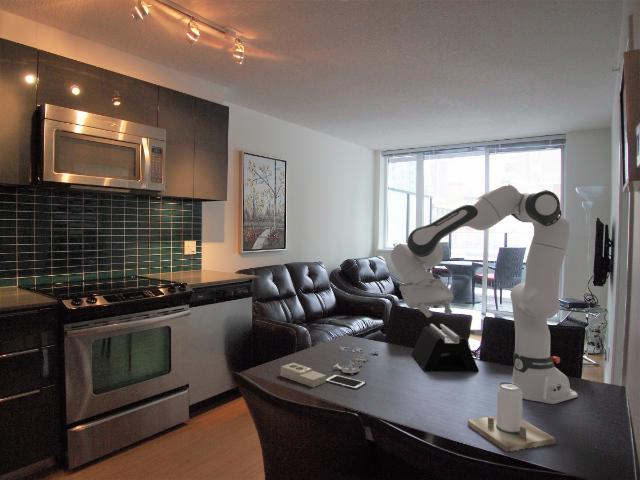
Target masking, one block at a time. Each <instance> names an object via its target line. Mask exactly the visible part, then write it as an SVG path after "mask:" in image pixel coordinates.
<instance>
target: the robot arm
mask: <svg viewBox="0 0 640 480" xmlns="http://www.w3.org/2000/svg"><path fill="white" fill-rule="evenodd" d="M562 214H563V213H562V210H561V202H560V199H559V197H558V195H556V194H555V193H554V192H552V191H550V190H548V189H537V190H530V191H526V192H523V193H521V192H520V191H519V190H518V189H517V188H516V187H515V186H514V185H512V184H509V183H503V184H499V185H498V186H496V187H494V188H492V189H490V190H488V191H486V192H485V193H484V194H482V195H481V196H478V198H476V199H475V200H473V201H471V202H470V203H468V204H465V205H462V206H459V207H457V208H456V209H453V210H452V211H450V212H449V213H446V214H445V215H444V216H442V217H440V218H438V219H436V220H434V221H433V222H431V223H429V224H426V225H423V226H422V225H421V226H419V227H416V228H415V229H414V230H413V231H411V233H409V235H408V237H407V240H406V241H407V242H401V243H398V244H397V245H395V247H393V248H392V251H391V252H390V260H391V261H392V264H393V266H394V268H395V269H396V271H397V273H398V274H399V275H400V276H401V277H402V280H403V282H402V283H400V284H399V291H400V292H401V296H402V298H403V300H404V303H405V304H406V306H407V307H408V308H409V309H415V308H417V309H418V311H420V312H422V313H423V314H424V315H425V317H426V318H431V317H432V316H433V315H434V314H433V312H432V310H431V309H428V308H427V307H435V306H442V308H443V307H444V310H443V313H444V314H445V315H446V316H447V315H451V314H452V313H453V310H452V309H451V306H450V303H451V302H452V301H453V300H454V293H452V290H451V289H450V288H449V287H448V285H447V284H446V283H445V282H444V281H443V277H442V276H441V275H439V274H435V273H433V272H431V271H427V270H430V269H431V268H434V267H436V266H438V265H439V264H441V262H442V261H443V260H444V256H445V253H444V250H443V247H442V245H441V243H440V242H441V240H443V238H446V237H447V236H449V235H450V234H452V233H453V232H455V231H456V230H458V229H460V228H464V227H469V228H471V229H473V230H477V231H486V230H488V229H490V228H492V227H494V226H495V225H497V224H498V223H500V222H501V221H502V220H504V219H505V218H506V217H508V216H510V215H511V216H512V217H514V218H515V219H516V220H517V221H520V222H522V223H530V224H532V225H533V237H532V239H531V242H530V246H529V250H528V253H527V256H526V261H525V281H524V282H520V283H517V284H516V285H514V286H513V287H512V288H511V291H510V294H509V295H510V296H509V297H510V299H511V304H512V305H511V306H512V317H513V322H514V330H515V334H514V335H515V338H514V339H515V340H514V341H515V342H514V344H515V346H514V351H513V364H514V365H513V370H512V378H511V382H510V383H514V384H517V385H519V386H520V387H521V391H522V400H523V399H524V400H528V401H534V402H541V403H545V404H549V405H555V404H558V403H562V402H565V401H569V400H571V399H572V400H573V399H575V398H577V397H578V393H577V392H576V391H575V390H573V389H571V387H570V381H569V378H568V376H566V374H564V373H563V372H562V371H560V369H558V368H557V367H555V364H554V363H556V364H559V363H560V362H561V359H560V357H558V356H556V355H555V356H554V355H553V356H551V331H550V328H549V326H548V321H547V319H548V320H549V319H551V318H554V317H555V316H556V315H558V313H559V311H560V309H561V301H560V299H559V289H560V278H561V277H560V275H561V270H562V267H563V264H564V263H563V262H564V259H565V255H566V251H567V249H568V244H569V239H570V226H571V225H570V222H569V221H568V220H567V219H566V218H565V217H562Z"/></svg>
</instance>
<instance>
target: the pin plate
mask: <svg viewBox="0 0 640 480" xmlns="http://www.w3.org/2000/svg"><path fill="white" fill-rule="evenodd" d="M467 426H468V427H470V428H471V429H473V430H474V431H476V432H477V433H478V434H480V435H481V436H483V437H484V436H485V437H486V439H487V438H488V439H489V440H488V439H487V440H488V441H490V442H491V441H492V442H491V443H493V444H494V445H495V444H496V445H495V446H497V447H498V446H499V449H501V448H502V449H503V451H504V450H505V451H506V453H508V452H507V451H511V452H514V451H513V450H517V451H520V450H519V449H523V450H526V449H525V448H528V449H533V448H532V447H534V448H539V447H544V445H545V446H550V445H555V444H556V437H554V436H552V435H550V434H549V433H547V432H545V431H544V430H542V429H540V428H538V427H536V426H535V425H533V424H531V423H530V422H528V421H526V420H525V419H523V418H522V427H520V431H519V432H516V433H512V432H506V431H504V430H502V429H500V428H499V427H498V426H497V415H493V416H485V417H479V418H471V419H467ZM485 437H484V438H485ZM538 446H539V447H538ZM502 449H501V450H502ZM505 451H504V452H505Z"/></svg>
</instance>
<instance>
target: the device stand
mask: <svg viewBox="0 0 640 480" xmlns="http://www.w3.org/2000/svg"><path fill="white" fill-rule="evenodd" d="M439 327H440V328H441V329H440V328H438V327H437V326H436V325H435V324H433V323H430V324H429V326H428V325H425V326H424V327H423V328H422V330H421V333H420V335H419V337H418V339H417V341H416V344H415V346H414V347H413V350H412V353H411V355H412V357H413V359H414V360H415V361H416V362H417V364H418V365H419V366H420V368H421V369H422V370H423V372H426V373H427V372H429V373H431V372H433V373H436V372H440V373H441V372H442V373H443V372H446V373H447V372H448V373H450V372H451V373H455V372H456V373H459V372H461V373H479V371H480V370H479V368H478V365H477V363H476V361H475V357H474V355H473V353H472V351H471V349H470V346H469V344H468V341H467V340H466V339H465V337H462V336H461V335H460V334H459V333H457V332H455V331H454V330H453V329H452V328H450V327H448V326H446V325H444V324H443V323H440V324H439Z"/></svg>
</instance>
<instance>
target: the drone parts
mask: <svg viewBox="0 0 640 480" xmlns="http://www.w3.org/2000/svg"><path fill="white" fill-rule="evenodd" d="M344 348H345V349H344ZM338 349H340V350H339V351H340V352H341V351H344V350H345V351H346V352H348V350H349V349H350V347H349V345H348V346H347V347H346V346H344V347H343V346H341V345H340V344H339V345H338ZM363 349H364V347H361V348H359V346H356V349H355V350H354V349H352V350H351V352H353V353H354V352H355V355H353V357H352V359H349V360H348V361H347V364H344V365H342V366H340V364H339V363H336V364H335V365H334V366H332V368H333V369H335V368H337V369H339V370H341V372H342V373H343V374H346V373H347V374H350V375H354V374H356V373H358V372H360V367H363V365H364V362H367V361H369V356H368V355H364V356H362V355H361V353H362V351H363ZM379 351H380V350H379V349H377V350H376V351H375V350H374V349H371V351H369V353H371V354H372V355H375V354H376V355H377V354H379ZM356 354H358V355H356ZM359 354H360V355H359ZM358 361H359V362H358Z"/></svg>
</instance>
